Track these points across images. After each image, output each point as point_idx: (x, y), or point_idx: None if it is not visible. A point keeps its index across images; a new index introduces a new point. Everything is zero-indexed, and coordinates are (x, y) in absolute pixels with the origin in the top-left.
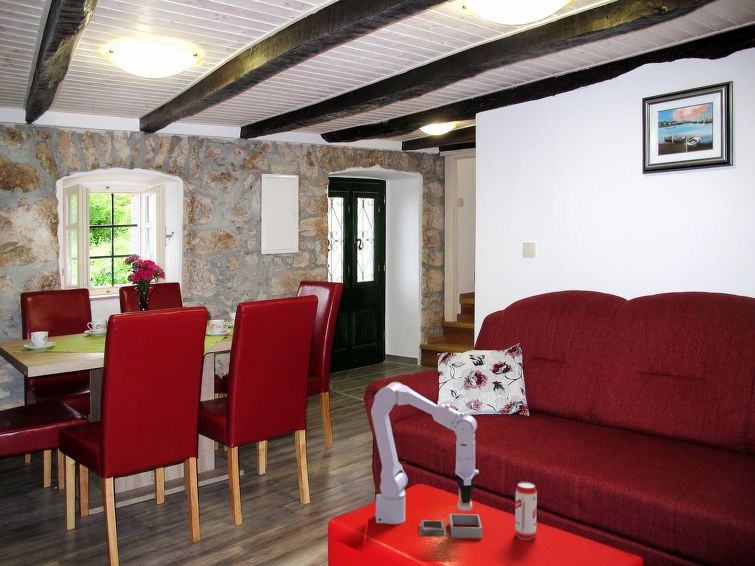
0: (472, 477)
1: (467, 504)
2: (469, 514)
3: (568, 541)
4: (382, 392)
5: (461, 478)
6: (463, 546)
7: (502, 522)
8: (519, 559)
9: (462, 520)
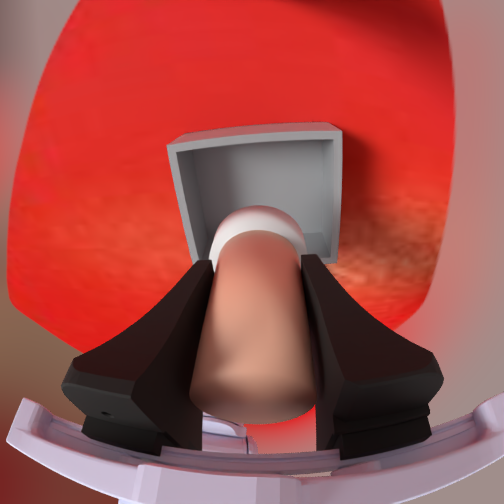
0: (443, 458)
1: (296, 254)
2: (178, 189)
3: None
4: None
5: (191, 422)
6: (371, 195)
7: (120, 46)
8: (446, 25)
9: (195, 208)
